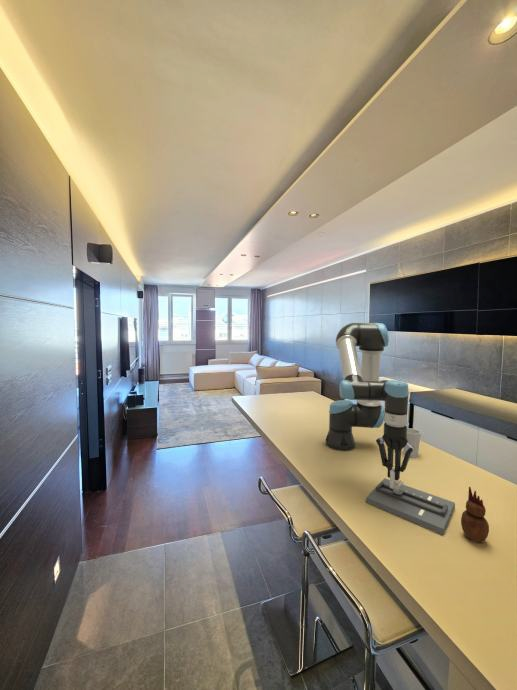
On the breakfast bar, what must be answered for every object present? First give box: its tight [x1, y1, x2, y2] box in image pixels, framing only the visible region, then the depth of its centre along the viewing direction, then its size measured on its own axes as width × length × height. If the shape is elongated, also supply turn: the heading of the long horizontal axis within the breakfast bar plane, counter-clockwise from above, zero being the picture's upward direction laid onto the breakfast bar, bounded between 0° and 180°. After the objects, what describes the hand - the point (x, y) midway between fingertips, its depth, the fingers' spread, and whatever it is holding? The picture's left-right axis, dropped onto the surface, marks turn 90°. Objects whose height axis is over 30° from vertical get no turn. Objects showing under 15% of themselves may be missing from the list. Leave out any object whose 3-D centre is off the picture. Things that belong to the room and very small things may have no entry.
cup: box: [403, 427, 422, 459], centre depth 144 cm, size 8×8×12 cm
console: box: [365, 478, 456, 536], centre depth 104 cm, size 24×18×4 cm
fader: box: [393, 479, 404, 497], centre depth 107 cm, size 3×4×5 cm, turn 137°
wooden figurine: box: [460, 486, 490, 544], centre depth 88 cm, size 7×6×15 cm
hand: (393, 487), depth 108 cm, fingers closed
